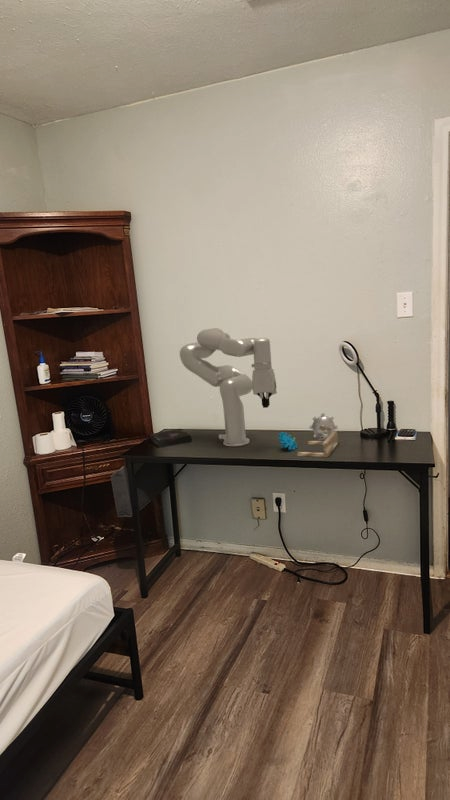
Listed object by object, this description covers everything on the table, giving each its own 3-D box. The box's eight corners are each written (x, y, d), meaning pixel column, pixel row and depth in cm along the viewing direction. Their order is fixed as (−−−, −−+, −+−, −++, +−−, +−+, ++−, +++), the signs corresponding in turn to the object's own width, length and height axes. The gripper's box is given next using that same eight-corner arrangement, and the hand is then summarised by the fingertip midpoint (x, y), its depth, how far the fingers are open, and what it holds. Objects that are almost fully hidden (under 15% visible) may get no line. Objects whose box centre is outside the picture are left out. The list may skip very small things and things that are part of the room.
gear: (310, 442, 237) (308, 414, 235) (311, 440, 240) (310, 413, 238) (337, 443, 232) (335, 414, 230) (338, 441, 235) (337, 413, 233)
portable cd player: (192, 442, 257) (191, 434, 257) (159, 448, 252) (158, 440, 251) (182, 435, 273) (181, 428, 272) (151, 441, 267) (150, 434, 266)
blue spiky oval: (289, 449, 223) (276, 432, 227) (281, 458, 226) (268, 440, 230) (303, 446, 231) (290, 429, 235) (295, 454, 234) (282, 437, 239)
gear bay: (297, 456, 219) (296, 442, 218) (308, 443, 237) (308, 430, 236) (327, 457, 213) (326, 443, 212) (337, 443, 231) (336, 431, 230)
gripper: (244, 368, 227) (247, 408, 231) (276, 367, 221) (279, 409, 224) (250, 365, 234) (253, 405, 237) (281, 364, 228) (284, 405, 231)
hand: (266, 407), depth 231 cm, fingers closed
